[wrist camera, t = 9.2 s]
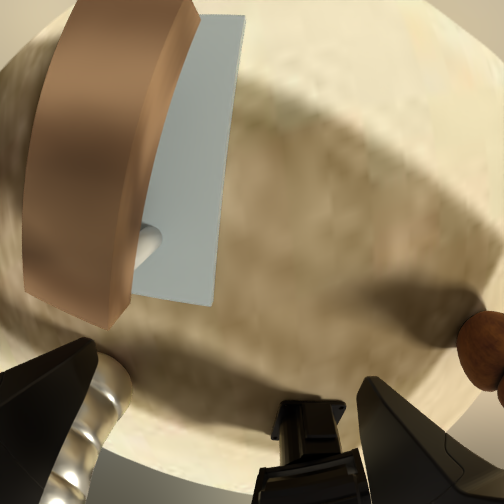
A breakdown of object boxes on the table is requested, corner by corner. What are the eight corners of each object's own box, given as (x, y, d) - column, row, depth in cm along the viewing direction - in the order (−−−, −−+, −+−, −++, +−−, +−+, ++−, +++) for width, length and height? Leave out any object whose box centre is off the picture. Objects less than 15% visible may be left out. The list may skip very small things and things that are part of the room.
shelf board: (130, 303, 16) (108, 330, 13) (52, 272, 15) (24, 291, 12) (201, 19, 11) (187, -8, 8) (104, 17, 10) (78, -2, 7)
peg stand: (213, 300, 21) (200, 339, 16) (75, 275, 21) (41, 302, 16) (245, 21, 14) (240, -15, 10) (91, 33, 14) (56, 14, 10)
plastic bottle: (131, 349, 23) (31, 544, 4) (145, 399, 25) (81, 566, 6) (75, 337, 23) (-36, 490, 4) (92, 386, 25) (15, 528, 6)
